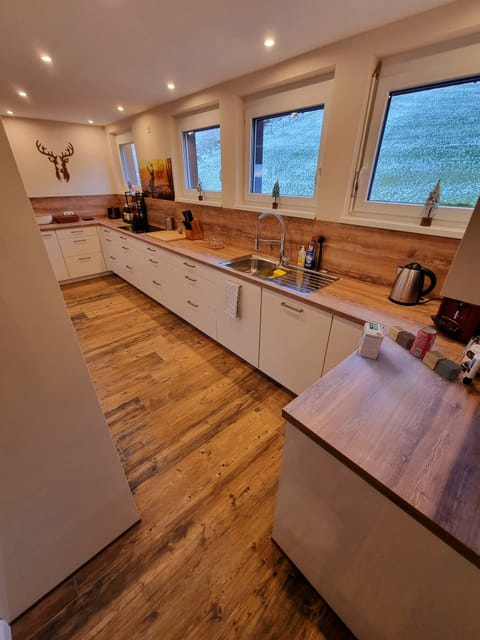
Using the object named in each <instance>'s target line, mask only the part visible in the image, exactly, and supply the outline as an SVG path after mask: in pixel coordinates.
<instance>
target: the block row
mask: <svg viewBox="0 0 480 640" xmlns="http://www.w3.org/2000/svg"><path fill="white" fill-rule="evenodd" d="M416 336H417V335H415V334H413V333H412V332H410V331H409V330H407V329H406V328H404V327H402V326H401V325H393V326H392V325H390V326H389V330H388V333H387V337H389V338H390V339H392V340H393V341H394V342H396V343H397V344H398V345H400V346H401V347H402V348H403V349H405V350H406V349H411V348H412V345H413V343H414V341H415V338H416ZM422 363H424V364H425V365H426V366H427V367H429V368H430V369H431V370H434V372H435V373H437V374H438V375H439V376H441V377H442V378H443V379H445V380H446V381H448V380H455V379H458V378H459V377H460V374H461V373H462V371H463V369H464V367H463V366H461V365H459V364H458V363H456V362H455V361H454V360H452V359H449V357H447V356H446V355H444V354H443V353H442V352H440V351H439V350H430V351H428V352H426V354H425V356H424V358H422Z"/></svg>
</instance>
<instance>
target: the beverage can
mask: <svg viewBox="0 0 480 640" xmlns="http://www.w3.org/2000/svg"><path fill="white" fill-rule="evenodd" d="M415 336H416V338H415V341H414V343H413V345H412V348H410V351H409V352H410V353H411V354H412V355H413V356H415V357H417V358H421V359H424V356H425V354H426V352H428V351H432V348H433V346H434V343H435V341H436V339H437V337H438V334H437V330H436V329H434V328H433V327H430V326H429V327H428V326H422V327H421V328H420V329H419V330H418V331H417V334H416V335H415Z"/></svg>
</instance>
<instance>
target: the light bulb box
mask: <svg viewBox="0 0 480 640" xmlns="http://www.w3.org/2000/svg"><path fill="white" fill-rule="evenodd" d="M384 334H385V333H384V327H383V325H382V324H378V323H374V322H373V323H372V322H367V321H365V323H364V326H363V329H362V333H361V336H360V339H359V342H358V356H361V357H365V358H368V359H373V360H377V357H378V354H379V351H380V349H381V347H382V343H383V341H384V338H385V335H384Z"/></svg>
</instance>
